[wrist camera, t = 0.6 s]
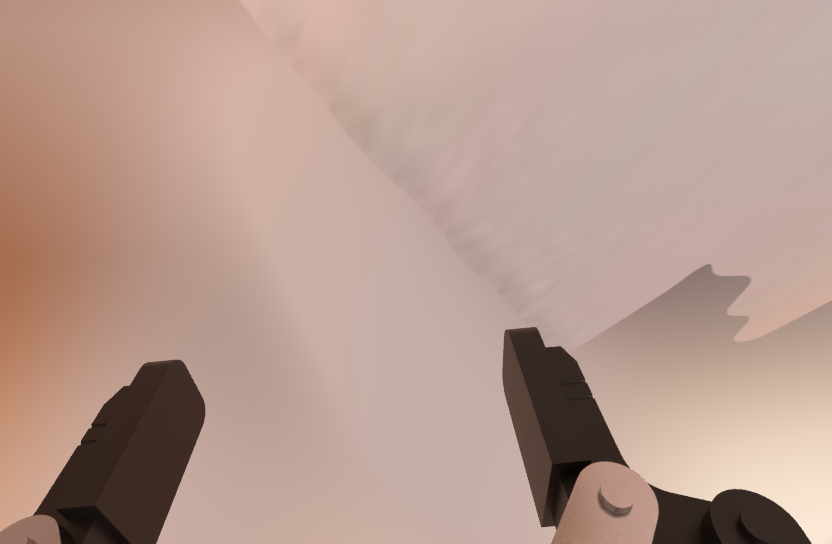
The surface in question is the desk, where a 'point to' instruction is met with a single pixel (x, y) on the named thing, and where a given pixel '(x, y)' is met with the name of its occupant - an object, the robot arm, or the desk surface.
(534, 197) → the desk surface
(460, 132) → the desk surface
